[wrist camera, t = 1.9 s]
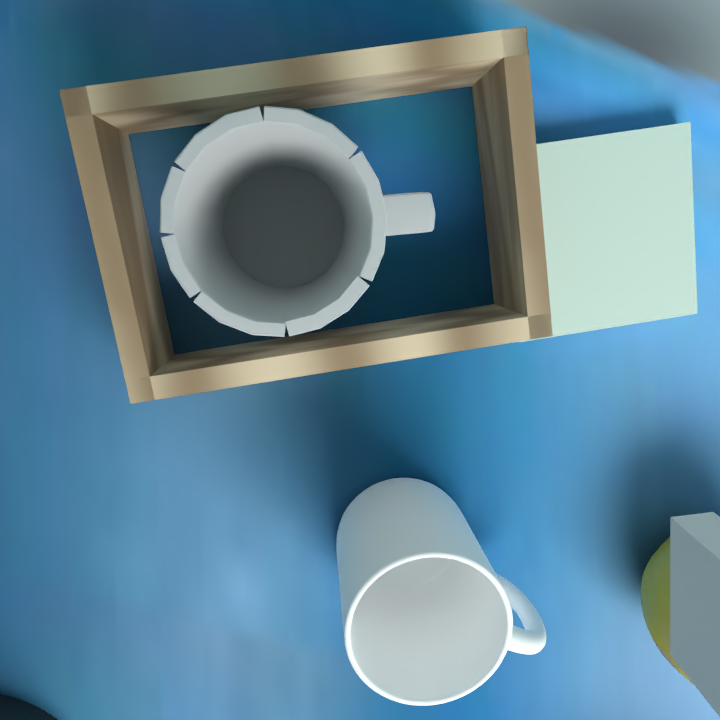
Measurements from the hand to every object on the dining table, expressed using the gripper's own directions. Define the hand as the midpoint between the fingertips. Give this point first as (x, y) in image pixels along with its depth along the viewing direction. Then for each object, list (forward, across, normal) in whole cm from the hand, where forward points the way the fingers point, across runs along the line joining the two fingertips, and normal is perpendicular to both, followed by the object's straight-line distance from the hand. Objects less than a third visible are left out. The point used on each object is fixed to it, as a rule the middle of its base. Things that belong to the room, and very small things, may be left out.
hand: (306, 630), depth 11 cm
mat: (+28, +17, +4) cm, 33 cm away
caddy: (+28, +1, +7) cm, 28 cm away
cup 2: (+28, +5, -14) cm, 31 cm away
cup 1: (+28, -1, +7) cm, 29 cm away
